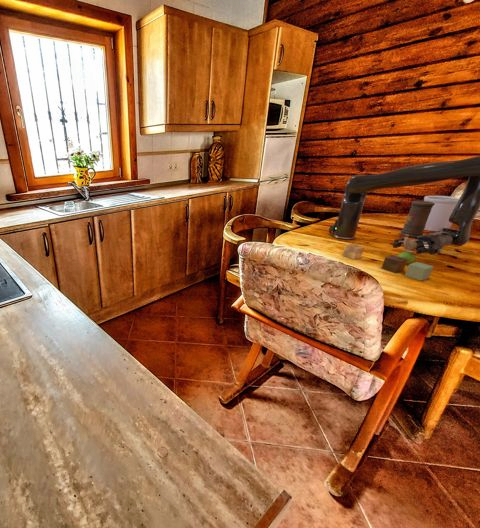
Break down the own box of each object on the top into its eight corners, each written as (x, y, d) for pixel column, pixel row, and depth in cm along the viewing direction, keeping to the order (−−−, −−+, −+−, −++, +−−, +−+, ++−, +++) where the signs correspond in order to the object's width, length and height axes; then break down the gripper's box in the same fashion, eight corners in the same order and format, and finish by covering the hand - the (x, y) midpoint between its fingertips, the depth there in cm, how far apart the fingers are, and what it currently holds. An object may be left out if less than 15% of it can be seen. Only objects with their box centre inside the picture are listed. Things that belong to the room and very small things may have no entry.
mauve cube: (342, 255, 129) (345, 245, 127) (349, 254, 131) (352, 244, 129) (353, 259, 125) (356, 249, 123) (361, 257, 127) (364, 247, 125)
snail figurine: (404, 260, 122) (413, 233, 117) (416, 265, 116) (427, 238, 111) (390, 260, 122) (399, 234, 118) (402, 265, 116) (412, 238, 112)
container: (420, 234, 151) (432, 201, 144) (424, 238, 144) (438, 204, 137) (398, 232, 156) (409, 200, 149) (401, 236, 149) (413, 203, 142)
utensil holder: (427, 224, 167) (438, 194, 160) (458, 230, 153) (472, 198, 146) (406, 226, 165) (417, 196, 158) (436, 233, 151) (449, 201, 144)
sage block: (404, 275, 109) (409, 264, 107) (412, 273, 110) (417, 261, 108) (420, 280, 104) (425, 268, 102) (428, 278, 106) (433, 266, 104)
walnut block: (381, 268, 115) (385, 257, 113) (389, 266, 117) (393, 255, 115) (395, 272, 111) (399, 261, 109) (403, 270, 113) (407, 259, 111)
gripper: (412, 230, 125) (388, 235, 120) (455, 238, 113) (431, 245, 108) (406, 245, 128) (383, 251, 123) (448, 255, 116) (424, 262, 111)
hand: (405, 248), depth 116 cm, fingers open, 7 cm apart
